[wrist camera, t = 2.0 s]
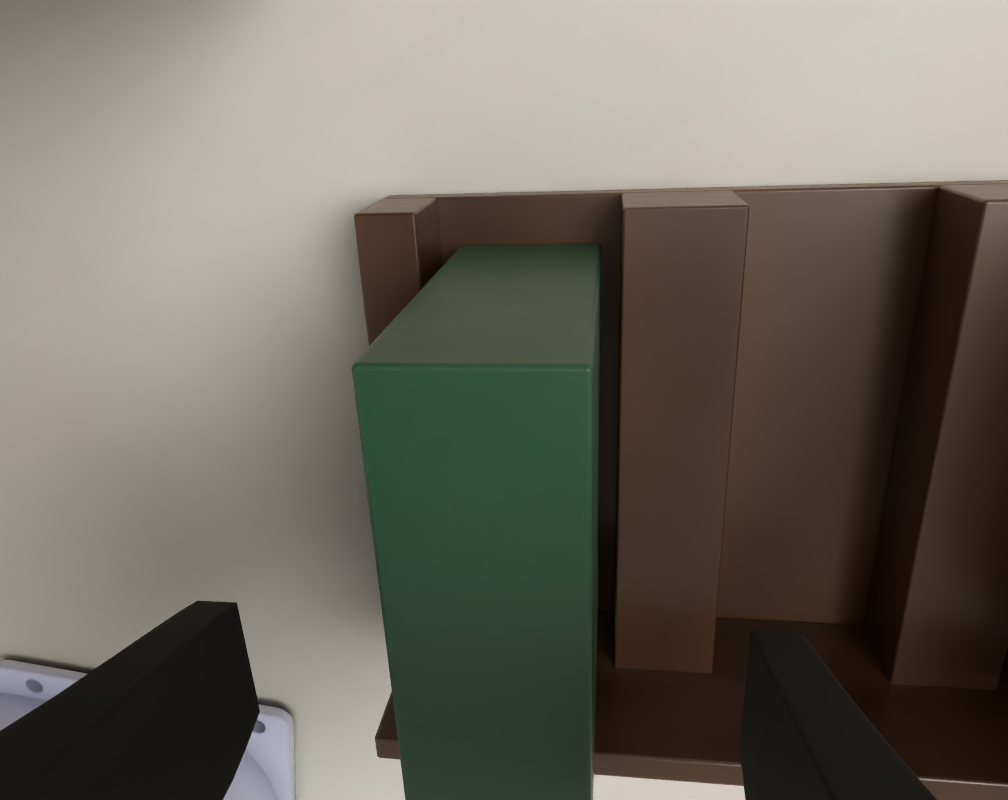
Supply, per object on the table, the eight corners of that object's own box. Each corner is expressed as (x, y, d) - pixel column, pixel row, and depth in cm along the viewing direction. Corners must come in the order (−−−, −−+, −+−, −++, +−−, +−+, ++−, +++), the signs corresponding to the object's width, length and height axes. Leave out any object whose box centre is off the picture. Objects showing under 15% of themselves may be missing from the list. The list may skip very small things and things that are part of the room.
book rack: (428, 609, 21) (376, 759, 16) (388, 195, 17) (302, 239, 12) (1168, 646, 18) (1353, 835, 14) (1341, 171, 14) (1693, 215, 10)
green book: (481, 592, 20) (412, 867, 13) (459, 244, 16) (348, 364, 9) (598, 598, 19) (591, 884, 12) (601, 242, 16) (593, 366, 9)
